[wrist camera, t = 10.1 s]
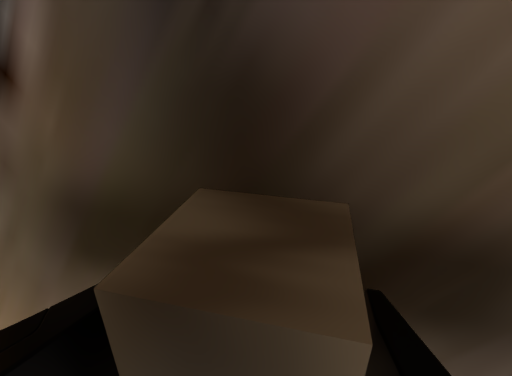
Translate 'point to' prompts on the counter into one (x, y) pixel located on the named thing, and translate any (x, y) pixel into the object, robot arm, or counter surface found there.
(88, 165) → the counter surface
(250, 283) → the walnut block
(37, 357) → the robot arm
